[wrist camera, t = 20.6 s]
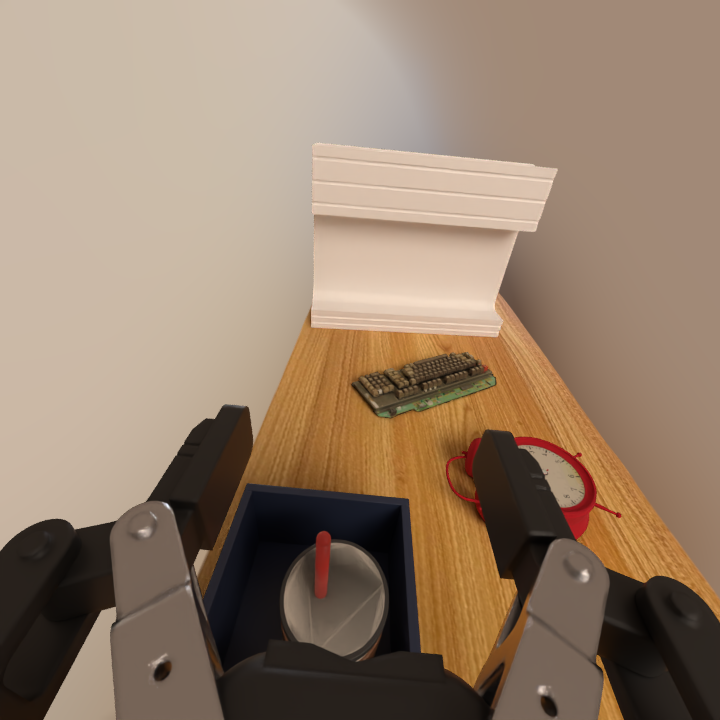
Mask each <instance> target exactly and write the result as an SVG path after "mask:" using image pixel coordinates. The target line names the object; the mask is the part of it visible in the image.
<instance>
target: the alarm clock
mask: <svg viewBox="0 0 720 720" xmlns="http://www.w3.org/2000/svg"><path fill="white" fill-rule="evenodd" d="M481 439H482V438H476V439H474V440H473V441H472V442H471V444H470V446H469V448H468V451H467V452H465V451H462V454H465V456H457V457H453V458H451V459H450V460H449V461H448V462H447V464H446V476H447V480H448V483H449V485H450V487H451V489H452V491H453V492H454V493H455V494H456V495H457V496H458V497H460V498H461V499H464V500H466V501H471V502H475V504H476V507H477V510H478V512H479V514H480V515H481V517H482V519H483V520H484V516H483V513H482V509H481V505H480V502H479V498H478V494H477V490H476V491H475V499H470V498H466V497H464V496H462V495H460V494H459V493H458V492H456V490H455V489H454V487H453V486H452V483H451V481H450V478H449V473H448V466H449V463H450V462H451V461H453V460H455V459H460V458H466V459H465V470H466V472H467V474H468V475H469V476H470V477H472V478H473V474H472V464H473V459H474V456H475V454H476V451H477V449H478V446H479V444H480V441H481ZM514 439H515V441H516V443H517V446H518V448H521V449H526V450H527V451H528V452H529V453H530V454H531V455H532V456H533V457H534V458H535V459H536V460H537V461H538V463H539V465H540V467H541V469H542V471H543V473H544V475H545V479H547V481H548V483H549V485H550V487H551V492H553V494H554V496H555V498H556V500H557V502H558V504H559V506H560V508H561V510H562V512H563V514H564V516H565V518H566V520H567V522H568V525H569V527H570V529H571V531H572V533H573V535H574V537H575V539H578V538H579V537H580V536H581V535H582V534H583V533H584V532H585V530H586V528H587V526H588V522H589V512H590V511H591V510H592V509H593V507H594V506H596V507H598V508H600V509H602V510H604V511H607V512H610V513H612V514H614V515H616V517H618V518H621V514H620V513H615V512H613V511H611V510H609V509H607V508H606V507H604V506H601V505H599V504H597V503H595V502H596V494H597V491H596V486H595V483H594V481H593V478H592V477H591V475H590V473H589V472H588V471H587V469H586V468H585V467H584V466H583V465H582V464H581V463H580V462H579V461H578V460H577V459H576V457H581V456H582V454H581V453H577V455H575V456H572V455H571V454H570V453H568V452H567V451H565V450H564V449H562V448H560V447H559V446H557V445H555V444H552V443H550V442H548V441H545V440H541V439H538V438H533V437H516V438H514ZM484 521H485V520H484Z"/></svg>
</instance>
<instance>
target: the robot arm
mask: <svg viewBox="0 0 720 720" xmlns="http://www.w3.org/2000/svg"><path fill="white" fill-rule="evenodd" d="M252 447H253V435H252V427H251V419H250V412H249V408H248V407H247V406H238V405H227V404H225V405H224V406H222V408H221V410H220V412H219V413H218V415H217V417H216V418H215V419H207V418H206V419H205V420H203V421H202V422H201V423H200V424H199V425H197V426H196V427H195V428H194V429H193V430H192V431H191V432H190V434H189V436H188V437H187V439H186V440H185V442H184V445H182V447H181V448H180V450H179V451H178V454H177V456H175V458H174V459H173V461H172V462H171V464H170V465H169V467H168V469H167V470H166V472H165V473H164V475H163V476H162V478H161V480H160V481H159V483H158V485H157V486H156V487H155V489H154V491H153V492H152V494H151V495H150V497H149V498H148V500H147V501H146V502H144V503H142V504H139V505H137V506H135V507H133V508H131V509H130V510H128V511H127V512H126V513H124V514H123V515H122V516H121V517H120V518H119V519H118V520H117V521H114V522H110V523H105V524H100V525H96V526H90V527H86V528H81V529H76V530H75V529H74V528H73V527H72V525H71V524H70V523H69V522H67V521H66V520H63V519H50V520H45V521H42V522H39V523H36V524H34V525H32V526H30V527H28V528H26V529H25V530H23V531H21V532H20V533H19V534H17V535H16V536H15V537H14V538H12V539H11V540H10V541H9V542H8V543H7V544H6V545H5V546H4V547H3V549H2V550H1V551H0V720H43V719H44V717H45V715H46V713H47V711H48V710H49V708H50V706H51V704H52V702H53V700H54V698H55V696H56V695H57V693H58V691H59V689H60V687H61V685H62V683H63V681H64V679H65V678H66V676H67V674H68V672H69V670H70V668H71V666H72V665H73V663H74V661H75V659H76V657H77V655H78V653H79V651H80V649H81V647H82V646H83V644H84V642H85V640H86V638H87V636H88V634H89V633H90V631H91V629H92V627H93V625H94V623H95V621H96V619H97V617H98V616H99V614H100V612H101V610H105V609H108V608H112V607H116V613H117V617H116V622H114V623H113V624H112V626H111V632H110V642H111V655H112V669H113V682H114V695H115V708H116V720H598V715H599V709H600V703H601V696H602V690H603V681H604V677H603V671H602V669H601V668H600V667H599V666H598V665H597V664H596V655H599V656H600V657H601V660H602V663H603V665H604V668H605V670H606V673H607V676H608V678H609V681H610V684H611V686H612V689H613V692H614V694H615V697H616V700H617V702H618V705H619V708H620V710H621V713H622V716H623V718H624V720H720V622H719V621H718V619H717V618H716V616H715V615H714V613H713V612H712V610H711V609H710V608H709V606H708V605H707V604H706V603H705V602H704V601H703V600H702V599H701V598H700V597H699V596H698V595H697V594H696V593H695V592H694V591H693V590H691V589H690V588H688V587H687V586H686V585H684V584H682V583H681V582H679V581H677V580H675V579H672V578H669V577H665V576H654V577H652V578H651V579H649V580H648V581H647V582H646V583H642V582H640V581H637V580H635V579H632V578H630V577H627V576H625V575H622V574H620V573H617V572H615V571H612V570H610V569H608V568H606V567H605V566H604V565H603V563H602V562H601V560H600V559H599V558H598V557H597V556H596V555H595V554H594V553H593V552H592V551H591V550H590V549H588V548H587V547H586V546H584V545H582V544H581V543H579V542H577V540H576V539H575V537H574V535H573V533H572V531H571V529H570V527H569V525H568V522H567V520H566V518H565V516H564V514H563V512H562V510H561V508H560V506H559V504H558V502H557V500H556V498H555V496H554V494H553V492H551V487H550V485H549V483H548V481H547V479H545V475H544V473H543V471H542V469H541V467H540V465H539V463H538V461H537V460H536V459H535V458H534V457H533V456H532V455H531V454H530V453H529V452H528V451H527V450H526V449H521V448H518V446H517V443H516V441H515V439H514V437H513V435H512V433H511V432H509V431H498V430H485V432H484V434H483V436H482V439H481V441H480V444H479V446H478V449H477V451H476V454H475V456H474V459H473V464H472V474H473V479H474V483H475V487H476V490H477V494H478V498H479V502H480V505H481V509H482V513H483V516H484V520H485V524H486V527H487V531H488V535H489V538H490V542H491V546H492V549H493V553H494V557H495V560H496V564H497V568H498V571H499V575H500V578H504V579H514V581H515V584H516V587H517V591H516V593H515V594H514V597H513V599H512V602H511V604H510V607H509V609H508V612H507V614H506V617H505V619H504V621H503V624H502V626H501V629H500V631H499V634H498V636H497V639H496V641H495V644H494V646H493V649H492V651H491V653H490V655H489V657H488V659H487V661H486V663H485V665H484V666H483V668H482V670H481V672H480V674H479V676H478V678H477V681H476V683H475V685H474V688H472V687H471V686H470V685H469V684H467V683H466V682H465V681H464V680H462V679H461V678H460V677H458V676H457V675H455V674H454V673H452V672H450V671H449V670H446V669H444V666H443V657H442V655H438V654H427V653H416V652H405V651H398V652H394V653H390V654H386V655H382V656H378V657H374V658H370V659H366V660H362V661H351V660H349V659H346V658H344V657H342V656H340V655H337V654H335V653H333V652H331V651H328V650H326V649H324V648H322V647H319V646H317V645H315V644H313V643H306V642H295V641H284V640H273V639H269V642H268V646H267V651H266V652H262V653H258V654H256V655H253V656H251V657H248V658H247V659H245V660H243V661H241V662H239V663H238V664H236V665H235V666H233V667H232V668H231V669H229V670H228V671H226V672H225V673H224V671H223V668H222V664H221V660H220V657H219V653H218V650H217V647H216V643H215V640H214V637H213V634H212V631H211V627H210V624H209V620H208V616H207V613H206V609H205V605H204V602H203V598H202V594H201V591H200V587H199V583H198V579H197V576H196V572H195V568H194V565H193V564H194V561H195V559H196V557H197V554H198V552H199V550H200V549H203V550H213V547H214V545H215V542H216V540H217V537H218V535H219V532H220V530H221V527H222V525H223V522H224V520H225V517H226V515H227V512H228V510H229V508H230V505H231V503H232V500H233V498H234V495H235V493H236V490H237V488H238V485H239V483H240V480H241V478H242V475H243V473H244V470H245V468H246V465H247V463H248V461H249V458H250V455H251V452H252Z"/></svg>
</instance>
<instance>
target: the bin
mask: <svg viewBox="0 0 720 720" xmlns="http://www.w3.org/2000/svg"><path fill="white" fill-rule="evenodd" d="M322 531H326V532H328V533H329V534H330V536H331V540H333V539H336V540H346V541H349V542H353V543H355V544H357V545H359V546H361V547H362V548H364V549H365V550H366V551H368V552H369V553H370V554H371V555H372V556H373V557H374V558H375V560H376V561H377V562H378V564H379V565H380V567H381V569H382V571H383V573H384V575H385V578H386V582H387V586H388V592H389V608H388V615H387V618H386V622H385V625H384V628H383V631H382V635H381V638H380V641H379V644H378V647H377V650H376V653H375V656H374V657H378V656H382V655H386V654H390V653H394V652H398V651H405V652H416V653H421V647H420V635H419V622H418V610H417V597H416V585H415V572H414V559H413V547H412V534H411V522H410V509H409V499H405V498H395V497H384V496H374V495H364V494H353V493H343V492H332V491H322V490H312V489H301V488H291V487H280V486H270V485H260V484H249V483H247V485H246V487H245V490H244V493H243V495H242V498H241V500H240V503H239V506H238V508H237V511H236V514H235V516H234V519H233V522H232V524H231V527H230V530H229V532H228V535H227V538H226V540H225V543H224V545H223V548H222V551H221V553H220V556H219V559H218V561H217V564H216V567H215V569H214V572H213V575H212V577H211V580H210V582H209V585H208V588H207V590H206V593H205V596H204V598H203V602H204V605H205V609H206V613H207V616H208V620H209V624H210V627H211V631H212V634H213V637H214V640H215V643H216V647H217V650H218V653H219V657H220V660H221V664H222V668H223V671H224V673H225V672H226V671H228V670H229V669H231V668H232V667H233V666H235V665H236V664H238V663H239V662H241V661H243V660H245V659H247V658H248V657H251V656H253V655H256V654H258V653H262V652H266V651H267V646H268V642H269V639H273V640H283V638H282V629H281V618H280V608H279V599H280V591H281V586H282V583H283V579H284V577H285V575H286V572H287V571H288V569H289V567H290V566H291V564H292V563H293V561H294V560H295V559H296V558H297V557H298V556H299V555H300V554H301V553H302V552H303V551H304V550H306V549H307V548H309V547H310V546H312V545H314V544H316V537H317V535H318V534H319V533H320V532H322Z"/></svg>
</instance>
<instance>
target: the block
mask: <svg viewBox="0 0 720 720" xmlns="http://www.w3.org/2000/svg"><path fill="white" fill-rule="evenodd" d="M312 155H313V159H312V214H314V281H313V282H314V285H313V303H312V309H311V327H313V328H332V329H351V330H370V331H389V332H408V333H427V334H445V335H464V336H483V337H498V334H499V331H500V329H501V325H502V323H503V320H502V319H501V317H500V316H499V315H498V314H497V313H496V311H495V300H496V297H497V294H498V291H499V288H500V285H501V282H502V279H503V276H504V273H505V270H506V267H507V264H508V261H509V258H510V255H511V252H512V249H513V246H514V243H515V240H516V237H517V234H518V232H519V231H529V232H535V231H536V228H537V226H538V221H539V220H540V217H541V215H542V211H543V208H544V206H545V201H546V200H547V198H548V195H549V192H550V190H551V187H552V184H553V179H554V178H555V176H556V173H557V170H558V169H555V168H545V167H536V166H534V164H525V163H515V162H506V161H495V160H485V159H475V158H465V157H455V156H445V155H435V154H425V153H415V152H405V151H395V150H385V149H375V148H365V147H355V146H345V145H335V144H325V143H316V145H313V152H312Z"/></svg>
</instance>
